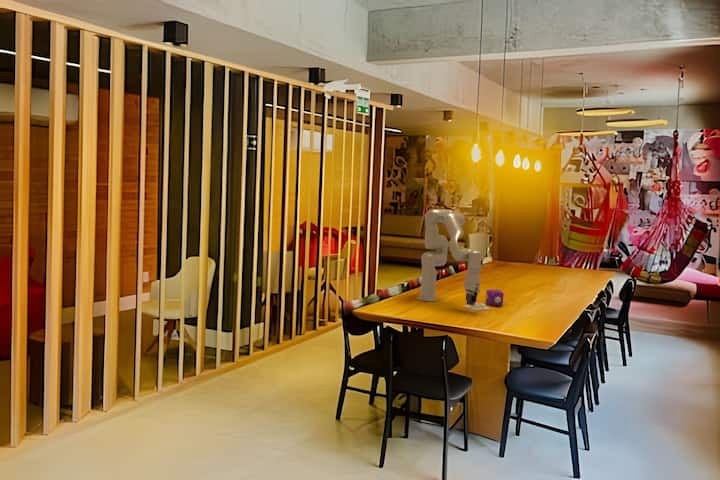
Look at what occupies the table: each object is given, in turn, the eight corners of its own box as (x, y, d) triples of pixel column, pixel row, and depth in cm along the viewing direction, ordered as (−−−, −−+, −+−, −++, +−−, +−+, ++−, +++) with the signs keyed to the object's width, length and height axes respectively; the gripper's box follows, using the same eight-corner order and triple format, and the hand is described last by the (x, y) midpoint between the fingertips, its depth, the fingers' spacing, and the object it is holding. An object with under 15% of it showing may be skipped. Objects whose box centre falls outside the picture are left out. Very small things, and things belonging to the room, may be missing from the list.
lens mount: (463, 307, 393) (463, 302, 393) (479, 306, 398) (479, 301, 398) (474, 311, 382) (475, 306, 382) (490, 310, 387) (491, 305, 387)
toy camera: (492, 307, 396) (493, 292, 396) (482, 303, 410) (483, 288, 409) (507, 307, 399) (508, 292, 398) (497, 303, 412) (498, 288, 412)
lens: (464, 303, 379) (465, 290, 378) (471, 303, 381) (472, 290, 380) (469, 305, 374) (470, 292, 373) (476, 304, 376) (477, 291, 375)
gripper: (460, 268, 381) (457, 298, 383) (476, 273, 366) (474, 304, 368) (470, 268, 384) (467, 297, 386) (487, 273, 369) (484, 304, 371)
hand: (470, 300), depth 377 cm, fingers closed on lens, 5 cm apart
